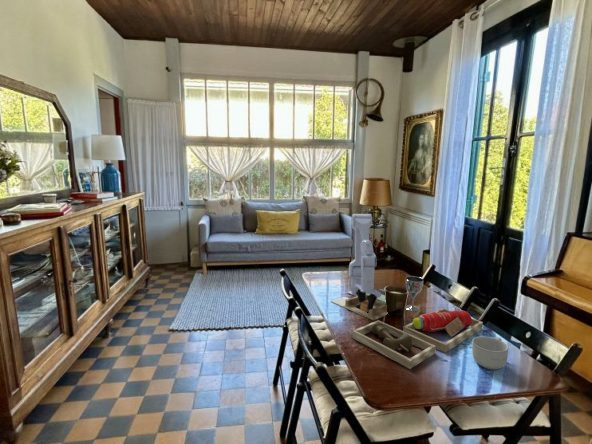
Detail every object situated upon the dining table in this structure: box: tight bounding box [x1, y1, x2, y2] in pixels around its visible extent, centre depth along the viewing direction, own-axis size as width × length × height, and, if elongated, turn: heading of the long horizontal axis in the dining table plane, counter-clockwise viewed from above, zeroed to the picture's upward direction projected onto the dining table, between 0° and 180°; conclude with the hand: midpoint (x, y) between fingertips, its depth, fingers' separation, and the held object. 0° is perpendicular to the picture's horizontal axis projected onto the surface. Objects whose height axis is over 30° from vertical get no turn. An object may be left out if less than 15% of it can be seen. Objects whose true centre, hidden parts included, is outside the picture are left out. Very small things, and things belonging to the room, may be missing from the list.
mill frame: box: [352, 319, 436, 370], centre depth 126 cm, size 16×26×3 cm, turn 38°
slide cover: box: [366, 288, 386, 304], centre depth 163 cm, size 8×16×3 cm, turn 38°
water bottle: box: [412, 309, 473, 338], centre depth 137 cm, size 12×8×25 cm
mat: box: [330, 296, 351, 308], centre depth 167 cm, size 10×8×1 cm
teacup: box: [471, 335, 509, 370], centre depth 115 cm, size 14×11×8 cm
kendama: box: [371, 323, 414, 353], centre depth 126 cm, size 6×10×20 cm
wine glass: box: [404, 275, 424, 312], centre depth 160 cm, size 8×8×15 cm
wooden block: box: [359, 301, 371, 313], centre depth 158 cm, size 4×4×4 cm
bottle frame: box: [402, 307, 484, 353], centre depth 138 cm, size 31×18×3 cm, turn 128°
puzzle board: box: [343, 296, 389, 321], centre depth 160 cm, size 20×18×4 cm
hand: (366, 307), depth 158 cm, fingers open, 4 cm apart
